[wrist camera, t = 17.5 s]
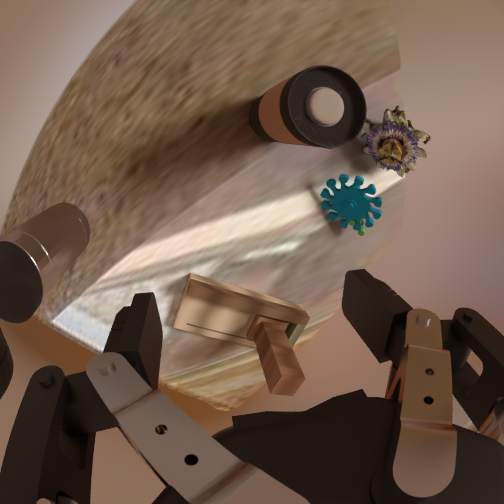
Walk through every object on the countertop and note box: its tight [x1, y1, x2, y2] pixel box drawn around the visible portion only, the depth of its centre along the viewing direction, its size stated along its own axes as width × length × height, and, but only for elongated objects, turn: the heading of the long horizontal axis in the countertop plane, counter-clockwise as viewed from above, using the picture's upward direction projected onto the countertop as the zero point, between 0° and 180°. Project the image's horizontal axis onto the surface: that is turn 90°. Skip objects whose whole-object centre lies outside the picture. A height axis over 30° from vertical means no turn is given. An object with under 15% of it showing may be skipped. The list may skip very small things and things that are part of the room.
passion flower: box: [361, 106, 430, 177], centre depth 40 cm, size 11×11×12 cm
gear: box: [320, 174, 382, 236], centre depth 44 cm, size 11×6×10 cm
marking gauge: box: [246, 314, 305, 396], centre depth 45 cm, size 6×6×15 cm
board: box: [173, 273, 310, 348], centre depth 49 cm, size 21×10×4 cm, turn 67°
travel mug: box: [249, 65, 367, 149], centre depth 31 cm, size 8×8×20 cm
